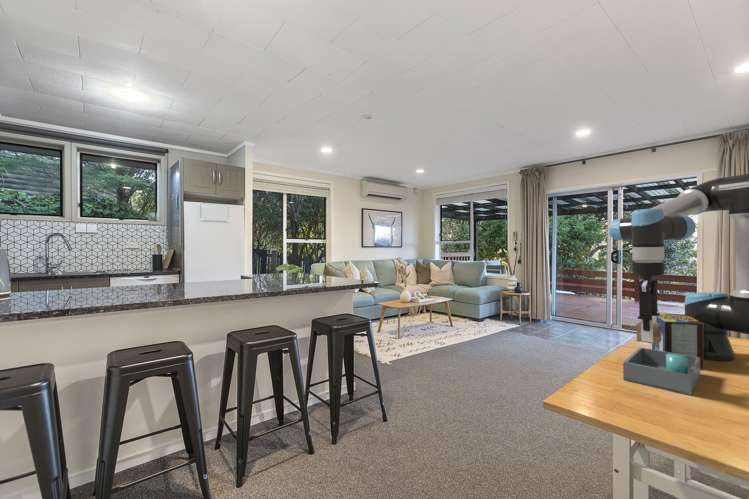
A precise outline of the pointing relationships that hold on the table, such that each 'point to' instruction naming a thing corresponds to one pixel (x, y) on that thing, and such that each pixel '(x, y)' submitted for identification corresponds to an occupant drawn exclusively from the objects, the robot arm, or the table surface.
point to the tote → (660, 371)
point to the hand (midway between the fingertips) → (649, 339)
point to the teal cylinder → (677, 363)
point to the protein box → (680, 335)
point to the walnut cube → (655, 333)
